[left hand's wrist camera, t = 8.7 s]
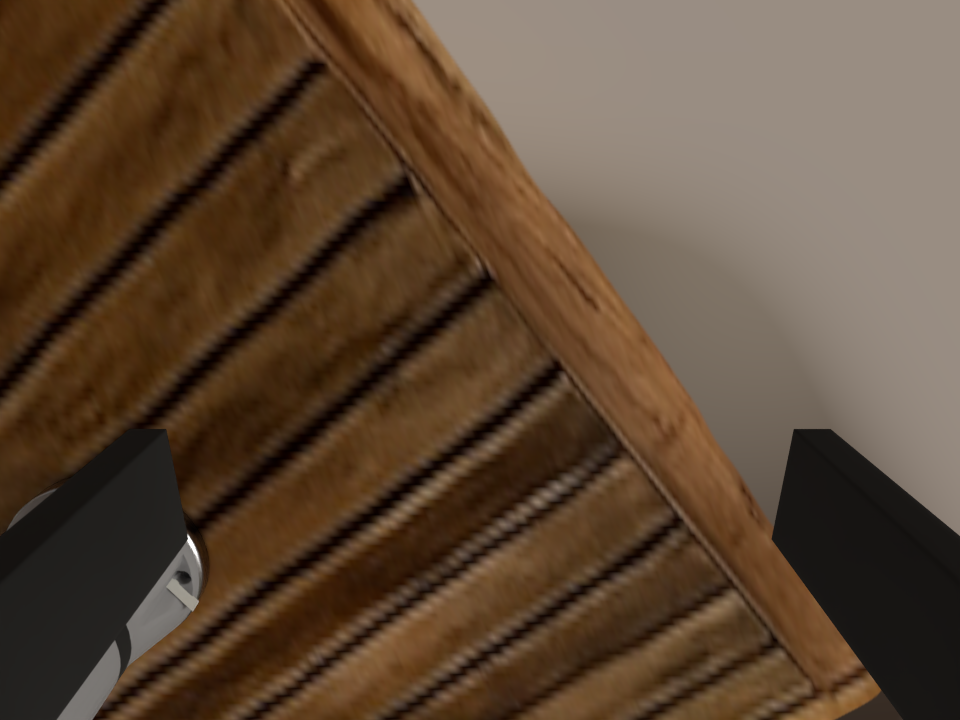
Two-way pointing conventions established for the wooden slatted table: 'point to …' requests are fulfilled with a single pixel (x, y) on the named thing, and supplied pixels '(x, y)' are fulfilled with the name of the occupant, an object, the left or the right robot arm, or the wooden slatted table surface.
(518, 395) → the wooden slatted table surface
